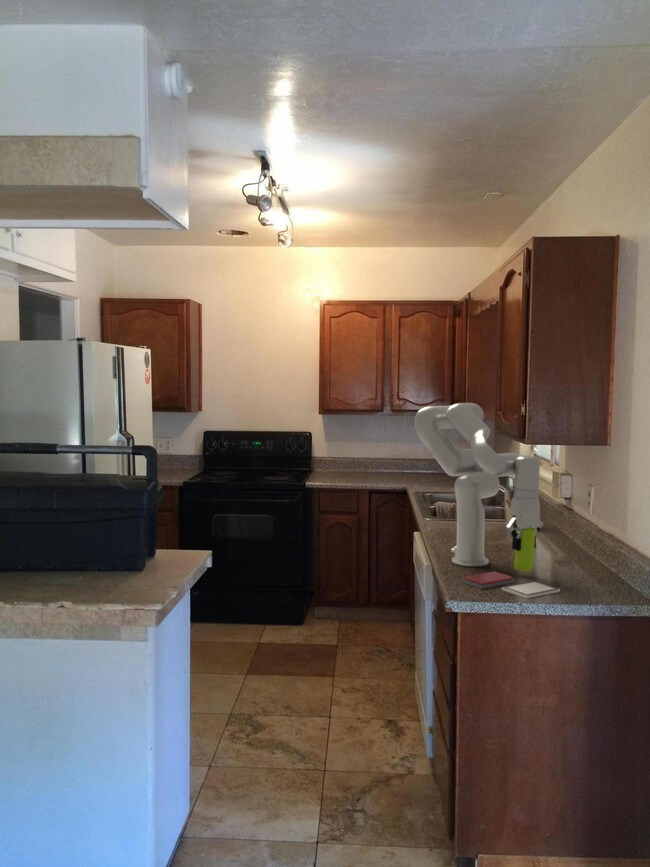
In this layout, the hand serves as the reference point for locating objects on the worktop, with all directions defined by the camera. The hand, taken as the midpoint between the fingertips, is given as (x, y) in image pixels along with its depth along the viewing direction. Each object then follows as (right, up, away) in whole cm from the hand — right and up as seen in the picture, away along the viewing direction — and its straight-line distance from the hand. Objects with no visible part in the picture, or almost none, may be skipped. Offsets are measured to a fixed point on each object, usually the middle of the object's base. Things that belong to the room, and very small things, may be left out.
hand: (523, 548), depth 229 cm
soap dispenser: (0, -7, +1) cm, 7 cm away
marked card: (-3, -10, -17) cm, 20 cm away
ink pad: (-13, -9, -8) cm, 18 cm away
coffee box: (+20, -4, +81) cm, 84 cm away
